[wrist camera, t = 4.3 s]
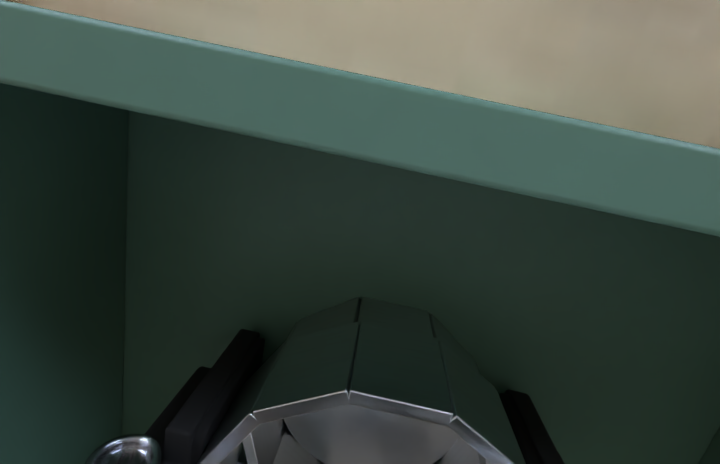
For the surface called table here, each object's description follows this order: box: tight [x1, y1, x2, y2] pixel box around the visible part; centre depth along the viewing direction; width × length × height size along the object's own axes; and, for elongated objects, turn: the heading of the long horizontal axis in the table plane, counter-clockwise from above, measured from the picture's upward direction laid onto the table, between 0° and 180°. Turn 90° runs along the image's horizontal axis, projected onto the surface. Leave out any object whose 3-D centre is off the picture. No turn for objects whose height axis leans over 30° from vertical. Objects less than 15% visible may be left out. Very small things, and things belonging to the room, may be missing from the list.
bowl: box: [197, 297, 526, 464], centre depth 9 cm, size 7×7×4 cm
